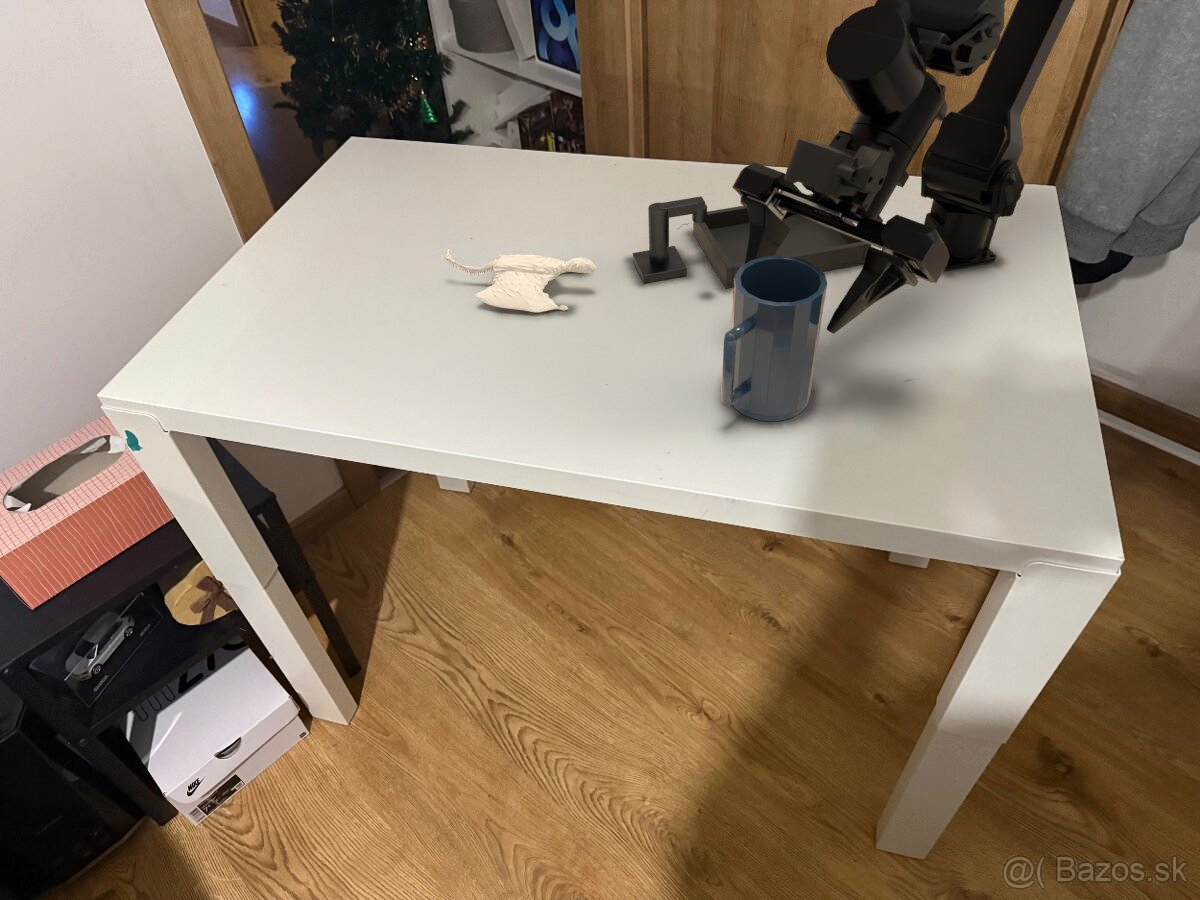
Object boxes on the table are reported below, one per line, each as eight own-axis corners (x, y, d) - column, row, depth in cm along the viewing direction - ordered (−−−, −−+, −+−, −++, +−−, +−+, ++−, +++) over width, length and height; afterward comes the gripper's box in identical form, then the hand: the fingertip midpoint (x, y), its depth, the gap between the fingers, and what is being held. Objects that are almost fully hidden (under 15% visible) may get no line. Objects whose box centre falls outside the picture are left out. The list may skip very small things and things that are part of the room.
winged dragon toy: (427, 307, 90) (419, 275, 87) (458, 258, 97) (451, 226, 94) (587, 319, 86) (584, 286, 84) (606, 267, 93) (604, 235, 91)
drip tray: (822, 210, 99) (825, 191, 98) (867, 263, 91) (871, 243, 89) (692, 232, 98) (693, 213, 96) (725, 288, 89) (727, 268, 87)
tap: (643, 283, 91) (641, 221, 85) (632, 260, 94) (630, 199, 89) (711, 271, 92) (714, 209, 86) (698, 249, 95) (700, 187, 90)
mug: (762, 359, 80) (773, 246, 71) (825, 393, 76) (844, 277, 67) (690, 411, 75) (692, 296, 66) (753, 450, 71) (765, 333, 62)
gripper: (754, 66, 66) (660, 240, 69) (967, 126, 56) (848, 328, 59) (802, 129, 76) (718, 281, 78) (994, 192, 65) (889, 364, 68)
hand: (785, 310), depth 71 cm, fingers open, 9 cm apart
